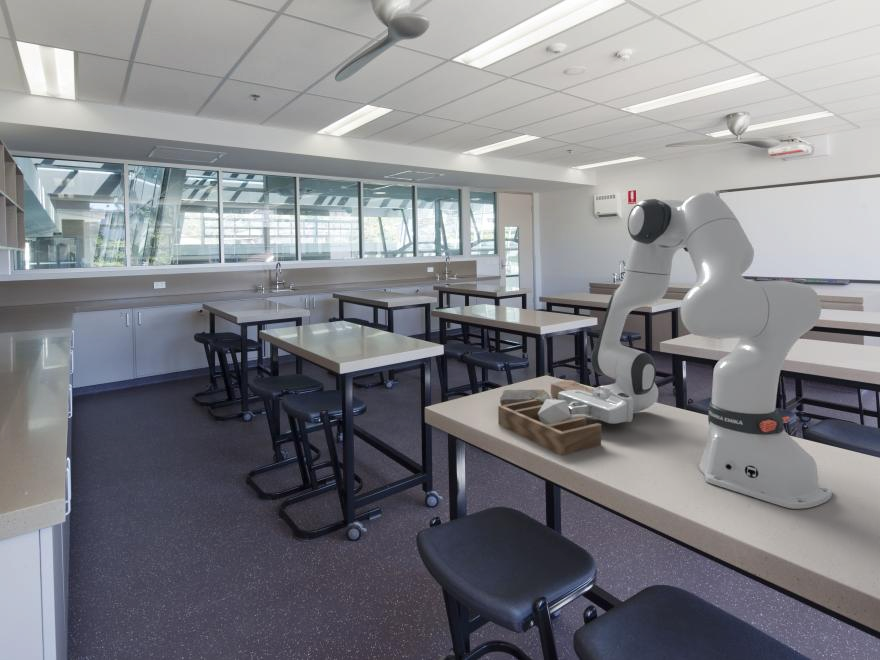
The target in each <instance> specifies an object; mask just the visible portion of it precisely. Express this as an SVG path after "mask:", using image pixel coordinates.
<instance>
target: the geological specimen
mask: <svg viewBox="0 0 880 660" xmlns="http://www.w3.org/2000/svg"><path fill="white" fill-rule="evenodd" d="M533 399H536V400H538V406H539V405H543V404H544V402H545V400H546V399H552V398H551V397H550V395H549V394H548V392H547V390H546V389H504V390H503V392H502V394H501V396H500V398H499V404H500V406H502V405H507V404H513V403H518V402H523V401H528V400H533Z"/></svg>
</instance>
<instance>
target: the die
mask: <svg viewBox="0 0 880 660" xmlns="http://www.w3.org/2000/svg"><path fill="white" fill-rule="evenodd" d="M538 416H539V419H540V421H541V423H543V424H546V425H549V424H554V423H558V422H563V421H567V420H572V419H573V416H572V414H571V413H570V410H569V407H568V404H567V401H566V400H558V399H552V398H551V399H546V400H545V402H544V404H543V405H542V407H541V409H540V411H539V412H538Z"/></svg>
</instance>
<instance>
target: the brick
mask: <svg viewBox="0 0 880 660" xmlns="http://www.w3.org/2000/svg"><path fill="white" fill-rule="evenodd" d="M568 390H582V391H586V392H589V393H593V391H594V390H595V388H588V387H586V386H585V385H582V384H581V383H579V382H577V381H575V380H571V379H570V380H569V379H568V380H562V381H557V382H552V383H551V384H550V395H551V396H552V397H553V398H554V399H558V393H559V392H561V391H568Z"/></svg>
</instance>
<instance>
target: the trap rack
mask: <svg viewBox="0 0 880 660" xmlns="http://www.w3.org/2000/svg"><path fill="white" fill-rule="evenodd" d="M541 407H542V405H539V406H538V400H536V399H533V400H528V401H523V402H518V403H513V404H507V405H502V406H501V405H498V410H497V411H498V413H497V414H498V423H497V424H498V425H499V426H502V427H504V428H505V429H507V430H509V431H511V432H513V433H516V434H517V435H520V437H521V436H522V437H523V438H526V439H528V440H529V441H532V442H533V443H535V444H538V445H540V446H541V447H544V448H546V449H548V450H549V451H552V452H554V453H555V454H558V455H560V456H563V455H567V454H572V453H576V452H578V451H583V450H585V449H590V448H594V447H598V446H601V445H602V423H599V422H596V423H593V424H587V425H586V420H587V419H586V418H585V417H577V418H572V420H567V421H563V422H558V423H554V424H549V425H546V424H543V423H541V421H540V419H539V416H538V412H539V411H540V409H541Z"/></svg>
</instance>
